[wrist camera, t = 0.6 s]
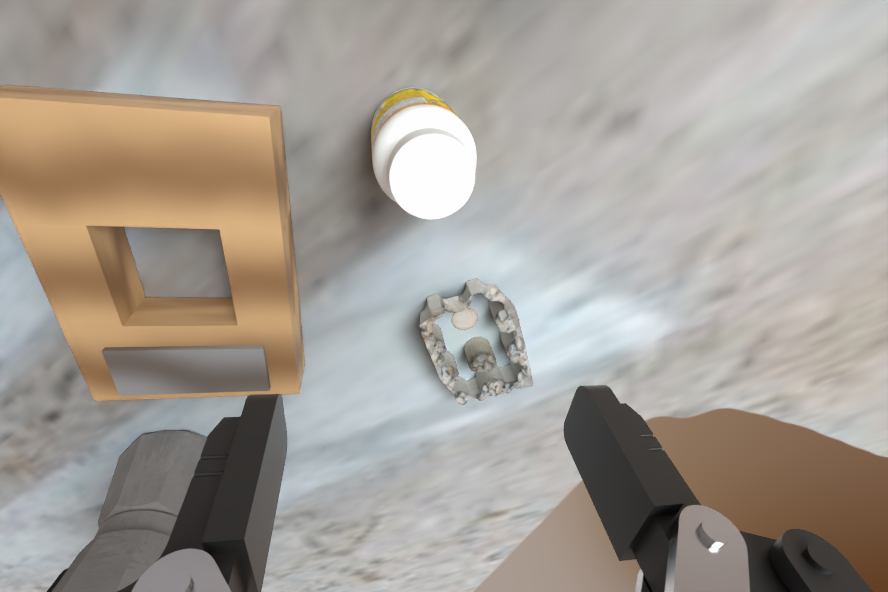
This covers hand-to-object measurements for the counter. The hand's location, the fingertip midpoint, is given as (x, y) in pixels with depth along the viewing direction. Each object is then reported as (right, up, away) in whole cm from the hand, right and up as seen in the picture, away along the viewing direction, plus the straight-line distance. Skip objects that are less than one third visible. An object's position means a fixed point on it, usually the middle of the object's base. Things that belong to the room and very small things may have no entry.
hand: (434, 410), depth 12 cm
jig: (-17, +6, +18) cm, 26 cm away
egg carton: (+3, 0, +26) cm, 26 cm away
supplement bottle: (-2, +14, +16) cm, 21 cm away
